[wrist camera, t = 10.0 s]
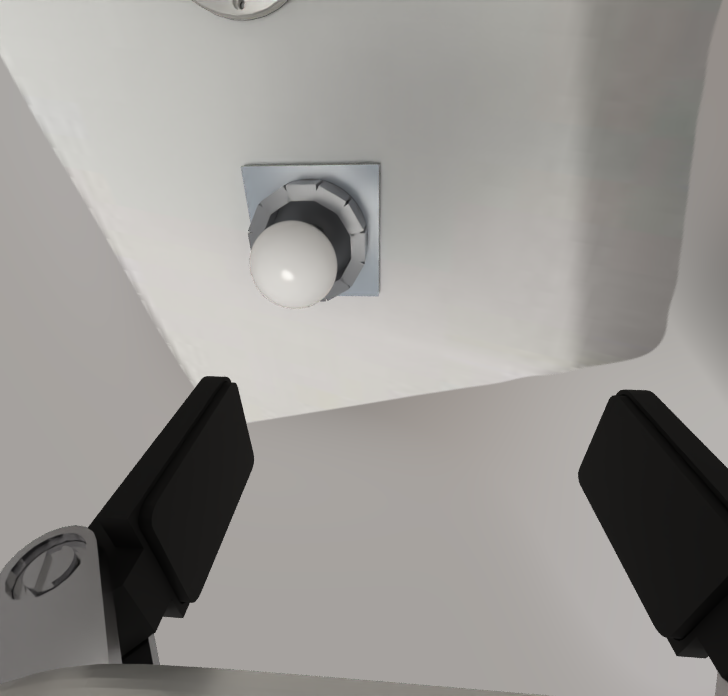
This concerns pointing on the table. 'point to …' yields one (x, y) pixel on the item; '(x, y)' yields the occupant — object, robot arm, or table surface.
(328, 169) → the socket
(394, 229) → the table surface
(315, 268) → the lightbulb
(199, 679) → the robot arm
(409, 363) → the table surface
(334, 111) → the table surface
